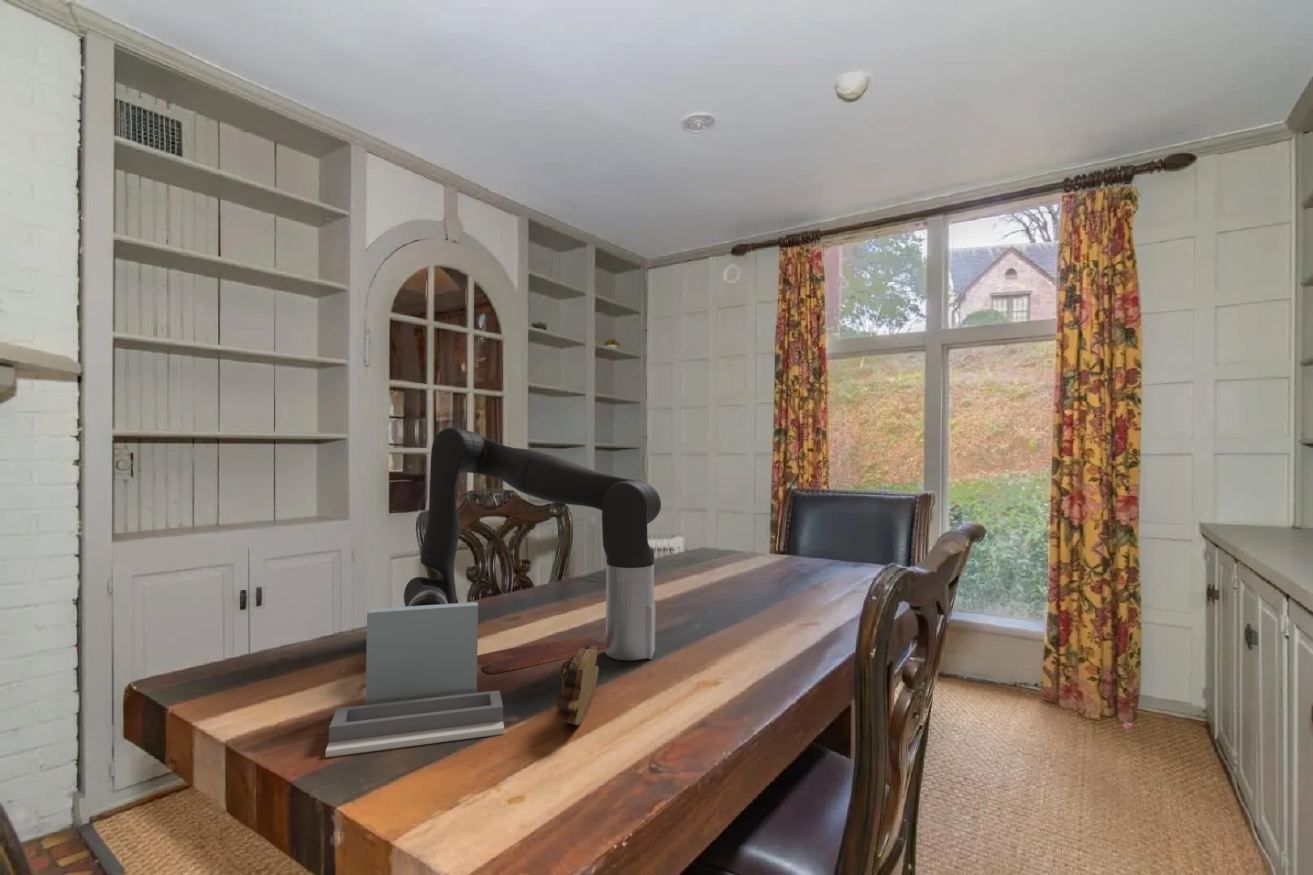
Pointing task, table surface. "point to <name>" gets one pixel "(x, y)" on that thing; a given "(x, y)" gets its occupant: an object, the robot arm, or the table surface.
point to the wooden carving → (577, 685)
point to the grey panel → (421, 652)
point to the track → (415, 722)
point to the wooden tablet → (533, 654)
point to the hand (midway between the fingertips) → (424, 637)
